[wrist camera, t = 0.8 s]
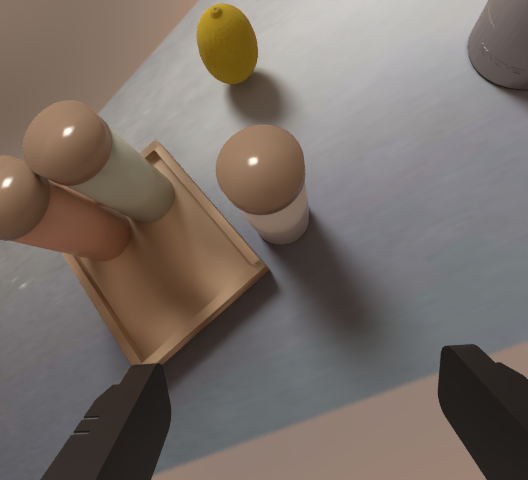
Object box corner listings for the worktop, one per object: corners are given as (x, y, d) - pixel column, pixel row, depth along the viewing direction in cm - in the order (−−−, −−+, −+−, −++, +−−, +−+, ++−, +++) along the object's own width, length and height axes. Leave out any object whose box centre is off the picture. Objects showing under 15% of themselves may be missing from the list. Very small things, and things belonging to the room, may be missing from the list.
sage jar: (155, 161, 31) (71, 85, 21) (186, 198, 30) (112, 136, 19) (114, 197, 31) (10, 138, 21) (143, 235, 30) (45, 193, 19)
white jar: (284, 179, 30) (264, 108, 20) (322, 218, 29) (323, 164, 18) (241, 216, 30) (199, 165, 20) (278, 257, 29) (253, 226, 18)
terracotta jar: (113, 197, 31) (8, 139, 21) (142, 236, 30) (44, 194, 19) (72, 233, 31) (-55, 193, 21) (99, 274, 30) (-24, 253, 19)
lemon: (236, 110, 33) (210, 48, 25) (204, 80, 34) (171, 13, 27) (275, 75, 33) (260, 2, 25) (241, 47, 34) (218, -29, 27)
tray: (167, 150, 33) (155, 139, 31) (269, 269, 28) (265, 266, 26) (66, 237, 33) (48, 232, 31) (153, 372, 28) (139, 377, 26)
